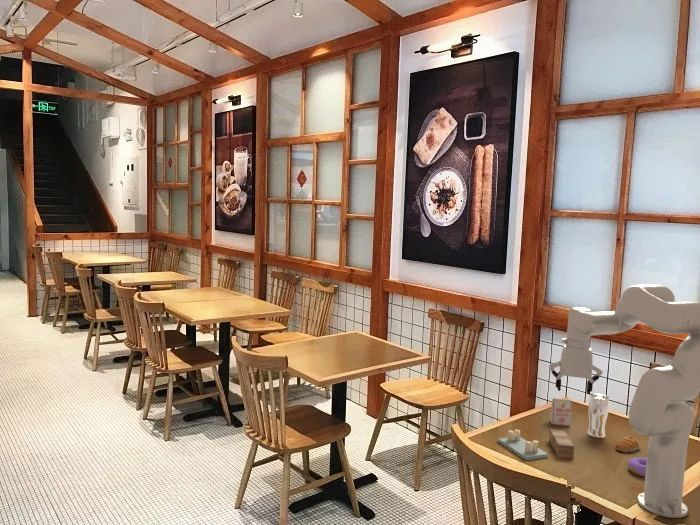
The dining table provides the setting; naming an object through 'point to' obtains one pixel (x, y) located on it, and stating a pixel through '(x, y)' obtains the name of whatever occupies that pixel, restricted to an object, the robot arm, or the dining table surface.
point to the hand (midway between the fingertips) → (573, 391)
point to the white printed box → (561, 412)
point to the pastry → (627, 444)
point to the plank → (561, 443)
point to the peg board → (522, 446)
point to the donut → (638, 466)
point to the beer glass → (598, 414)
